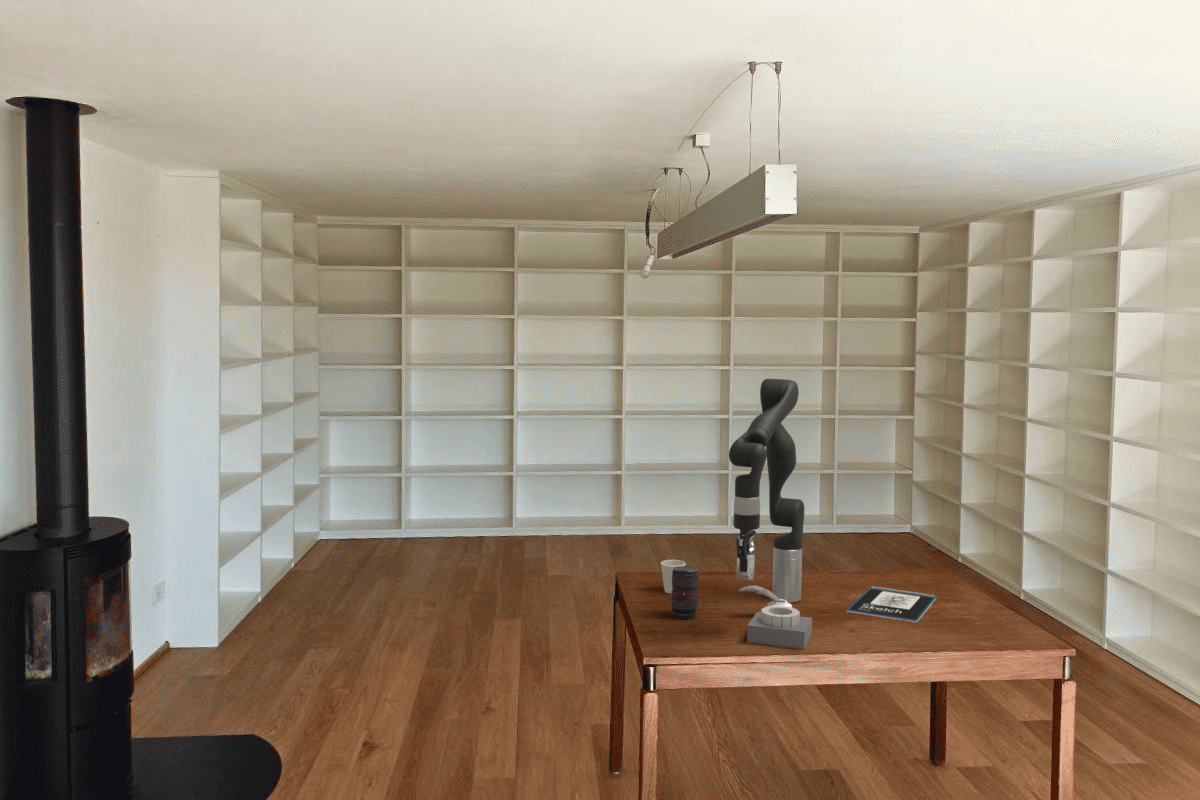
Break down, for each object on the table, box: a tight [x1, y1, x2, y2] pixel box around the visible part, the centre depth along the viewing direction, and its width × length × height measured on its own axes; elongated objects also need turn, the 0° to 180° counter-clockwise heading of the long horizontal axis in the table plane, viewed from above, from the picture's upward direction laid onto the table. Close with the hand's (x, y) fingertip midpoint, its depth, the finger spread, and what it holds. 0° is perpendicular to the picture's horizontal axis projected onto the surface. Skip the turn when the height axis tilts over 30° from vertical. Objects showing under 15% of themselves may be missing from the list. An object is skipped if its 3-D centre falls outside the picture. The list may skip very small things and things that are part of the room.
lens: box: [736, 546, 756, 581], centre depth 281 cm, size 5×5×9 cm
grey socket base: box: [746, 606, 813, 650], centre depth 278 cm, size 14×16×8 cm
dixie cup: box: [660, 559, 687, 594], centre depth 326 cm, size 8×8×10 cm
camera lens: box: [670, 565, 699, 620], centre depth 298 cm, size 8×8×15 cm
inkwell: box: [737, 585, 793, 608], centre depth 298 cm, size 9×18×10 cm, turn 98°
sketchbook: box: [845, 585, 937, 624], centre depth 313 cm, size 22×30×2 cm
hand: (745, 569), depth 281 cm, fingers closed on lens, 5 cm apart
